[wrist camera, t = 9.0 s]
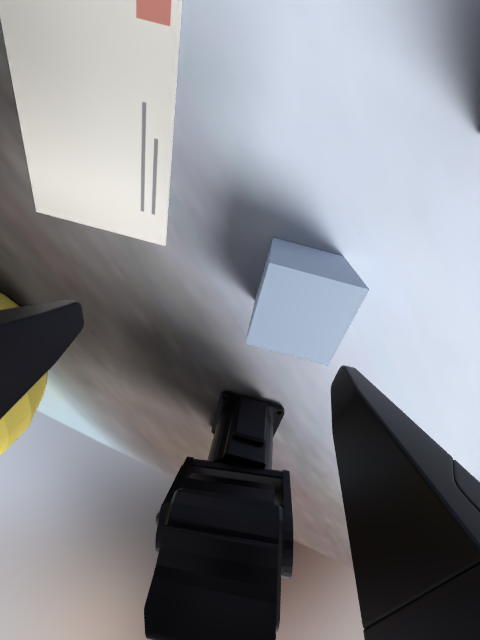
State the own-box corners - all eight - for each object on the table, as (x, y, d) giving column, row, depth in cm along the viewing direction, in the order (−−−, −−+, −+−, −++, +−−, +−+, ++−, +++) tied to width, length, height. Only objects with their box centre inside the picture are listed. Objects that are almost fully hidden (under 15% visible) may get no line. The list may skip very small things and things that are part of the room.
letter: (165, 245, 19) (165, 245, 19) (37, 211, 19) (36, 211, 19) (185, -54, 12) (185, -56, 12) (-21, -104, 12) (-23, -107, 12)
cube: (316, 316, 20) (328, 365, 15) (255, 300, 20) (245, 343, 15) (343, 256, 17) (369, 289, 12) (273, 237, 17) (269, 262, 12)
